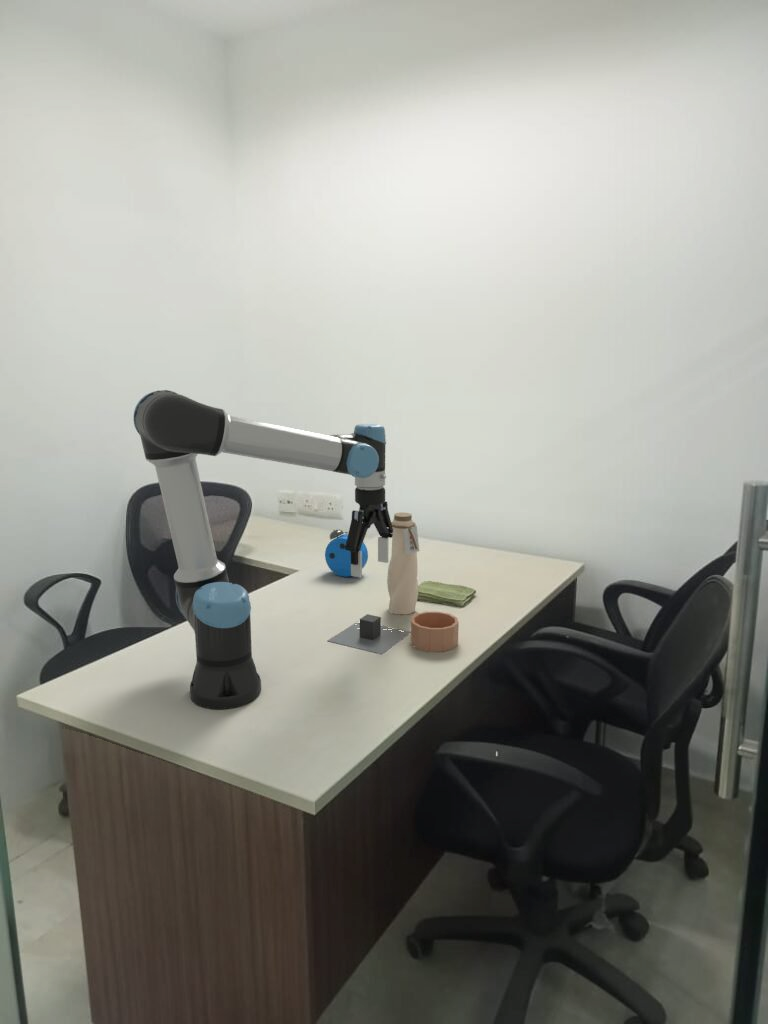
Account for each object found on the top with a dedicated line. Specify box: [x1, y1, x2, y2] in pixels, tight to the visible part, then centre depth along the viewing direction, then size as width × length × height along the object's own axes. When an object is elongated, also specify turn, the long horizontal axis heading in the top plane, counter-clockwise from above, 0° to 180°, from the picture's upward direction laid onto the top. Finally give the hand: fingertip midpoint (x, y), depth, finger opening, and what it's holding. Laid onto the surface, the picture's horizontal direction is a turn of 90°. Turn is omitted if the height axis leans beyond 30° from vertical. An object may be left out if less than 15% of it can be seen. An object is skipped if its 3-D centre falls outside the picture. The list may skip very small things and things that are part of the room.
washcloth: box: [417, 580, 477, 607], centre depth 217 cm, size 13×18×3 cm
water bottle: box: [386, 512, 420, 615], centre depth 202 cm, size 10×9×28 cm
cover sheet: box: [327, 613, 411, 655], centre depth 187 cm, size 16×16×6 cm
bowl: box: [410, 611, 460, 653], centre depth 183 cm, size 12×12×6 cm
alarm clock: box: [324, 529, 369, 578], centre depth 235 cm, size 13×6×15 cm, turn 68°
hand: (370, 569), depth 183 cm, fingers open, 13 cm apart
